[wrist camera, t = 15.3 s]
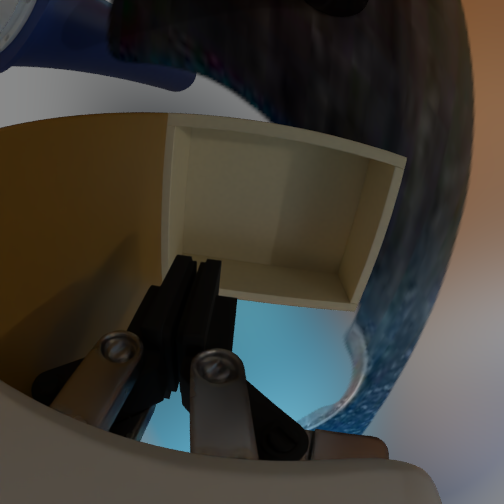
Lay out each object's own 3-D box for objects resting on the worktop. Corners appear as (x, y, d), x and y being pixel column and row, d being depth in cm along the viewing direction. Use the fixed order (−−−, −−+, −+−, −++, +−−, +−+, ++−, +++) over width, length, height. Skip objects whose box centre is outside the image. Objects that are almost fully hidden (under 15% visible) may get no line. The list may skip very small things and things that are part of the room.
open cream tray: (376, 147, 20) (407, 157, 15) (339, 277, 26) (355, 311, 21) (186, 113, 19) (164, 112, 14) (176, 255, 25) (159, 287, 20)
